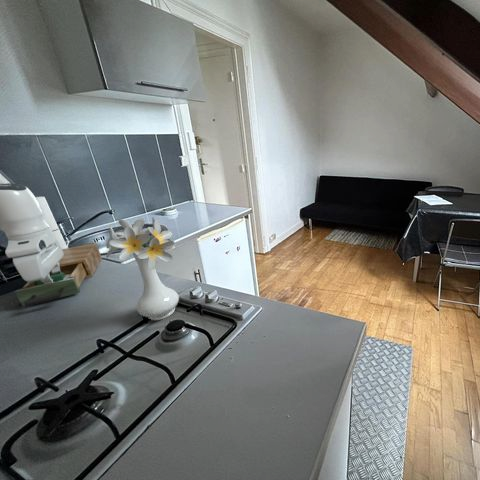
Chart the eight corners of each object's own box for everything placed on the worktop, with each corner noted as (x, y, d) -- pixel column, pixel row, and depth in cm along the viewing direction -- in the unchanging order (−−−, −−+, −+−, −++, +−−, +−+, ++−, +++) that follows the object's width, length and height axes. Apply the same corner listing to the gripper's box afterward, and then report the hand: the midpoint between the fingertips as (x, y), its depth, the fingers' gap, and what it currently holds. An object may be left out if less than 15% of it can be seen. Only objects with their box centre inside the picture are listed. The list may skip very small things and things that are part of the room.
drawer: (75, 300, 74) (68, 286, 72) (14, 315, 69) (5, 300, 67) (91, 270, 92) (86, 258, 90) (44, 281, 86) (37, 268, 84)
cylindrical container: (43, 265, 100) (11, 202, 90) (55, 258, 106) (26, 197, 97) (65, 262, 101) (35, 199, 92) (75, 255, 108) (49, 195, 99)
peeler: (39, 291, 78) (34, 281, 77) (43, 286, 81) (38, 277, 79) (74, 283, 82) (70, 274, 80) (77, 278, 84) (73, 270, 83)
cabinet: (92, 276, 89) (85, 259, 87) (39, 288, 83) (29, 270, 81) (102, 258, 104) (96, 243, 101) (57, 267, 98) (49, 251, 95)
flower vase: (166, 339, 59) (130, 236, 50) (117, 319, 66) (79, 227, 57) (210, 306, 70) (188, 216, 60) (164, 292, 77) (138, 211, 68)
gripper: (33, 232, 83) (52, 270, 88) (1, 255, 66) (27, 300, 71) (59, 228, 85) (76, 265, 91) (35, 248, 69) (57, 293, 74)
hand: (54, 281), depth 81 cm, fingers open, 5 cm apart
